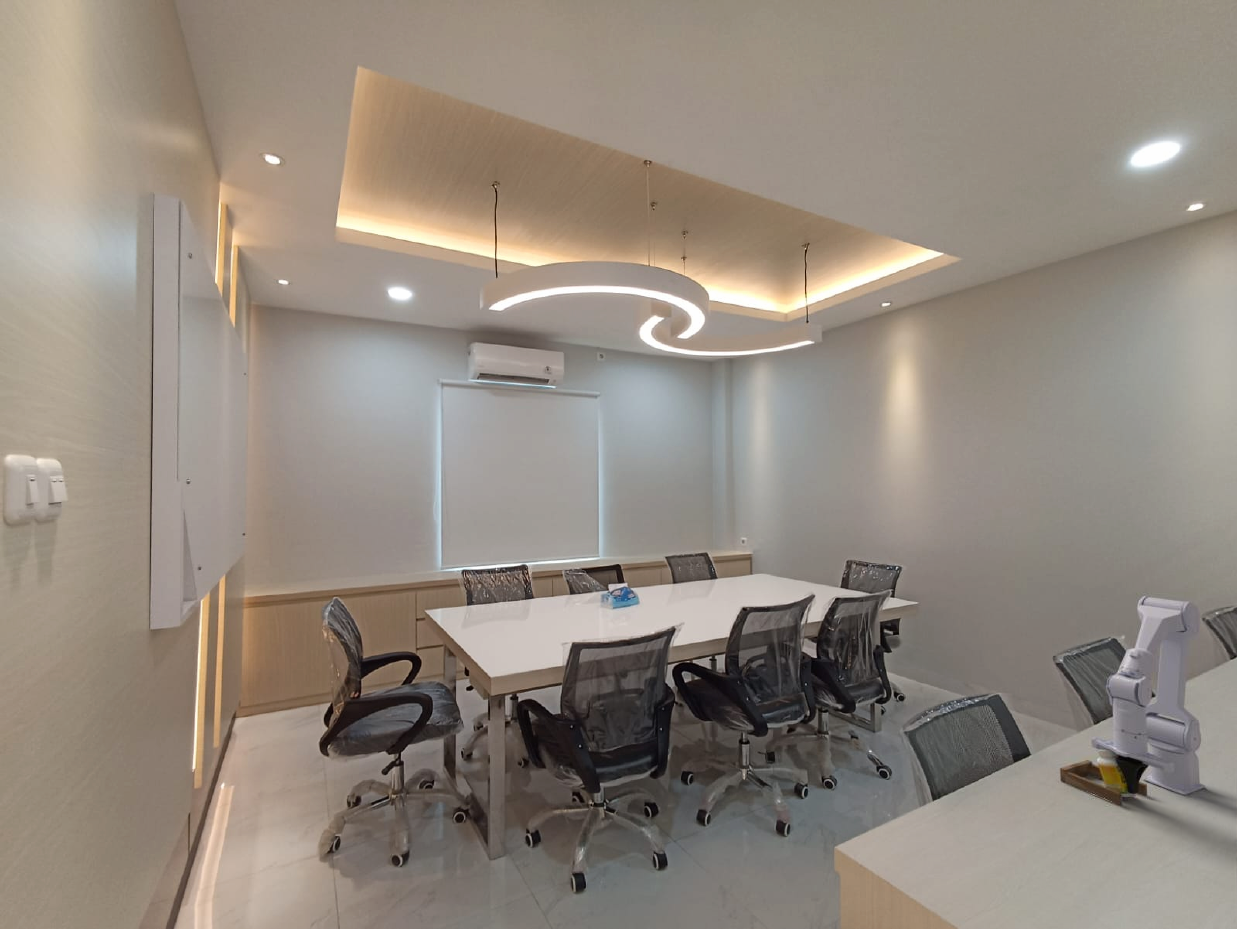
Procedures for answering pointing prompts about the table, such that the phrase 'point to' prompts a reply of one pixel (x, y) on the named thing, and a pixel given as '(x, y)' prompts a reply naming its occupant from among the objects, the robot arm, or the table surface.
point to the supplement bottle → (1112, 772)
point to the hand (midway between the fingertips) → (1132, 792)
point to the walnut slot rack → (1085, 768)
